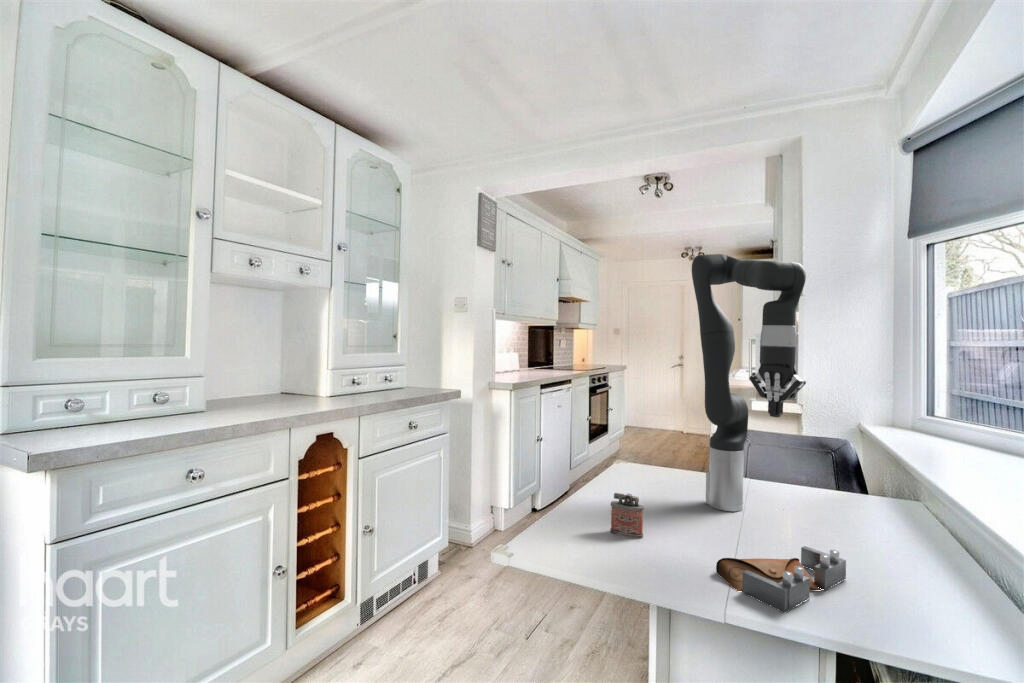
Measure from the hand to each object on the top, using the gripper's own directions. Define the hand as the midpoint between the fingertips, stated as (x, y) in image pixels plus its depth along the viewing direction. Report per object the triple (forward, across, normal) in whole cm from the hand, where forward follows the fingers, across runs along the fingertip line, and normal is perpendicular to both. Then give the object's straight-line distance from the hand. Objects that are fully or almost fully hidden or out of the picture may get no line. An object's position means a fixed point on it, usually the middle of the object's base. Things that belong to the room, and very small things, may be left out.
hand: (775, 416), depth 116 cm
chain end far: (+30, -14, +9) cm, 35 cm away
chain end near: (+30, -15, +24) cm, 41 cm away
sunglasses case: (+31, -11, +19) cm, 38 cm away
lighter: (+31, +21, +27) cm, 46 cm away
